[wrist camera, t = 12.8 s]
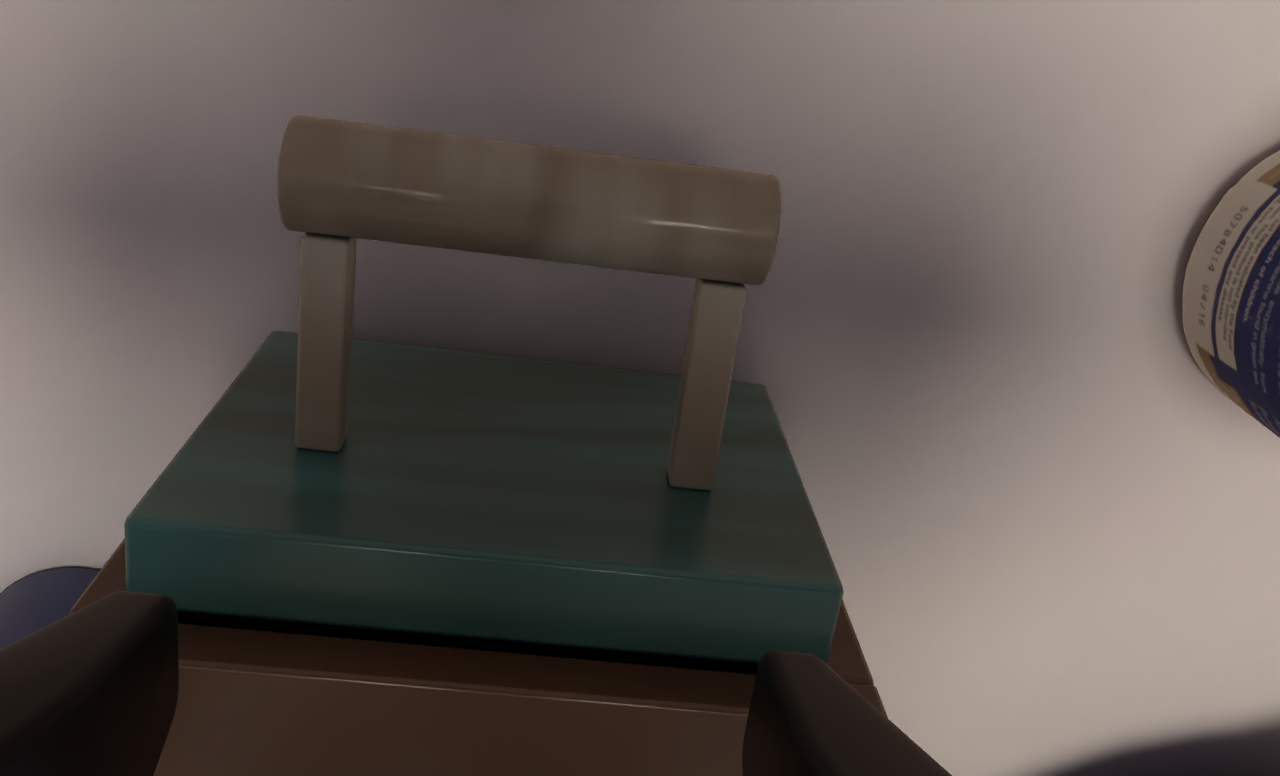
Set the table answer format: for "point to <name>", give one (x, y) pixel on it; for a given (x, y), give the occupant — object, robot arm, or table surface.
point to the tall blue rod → (40, 601)
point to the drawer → (499, 432)
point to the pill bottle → (1240, 294)
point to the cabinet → (445, 706)
